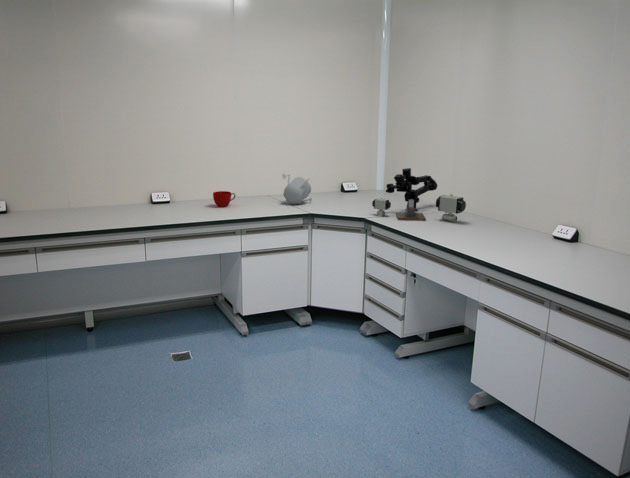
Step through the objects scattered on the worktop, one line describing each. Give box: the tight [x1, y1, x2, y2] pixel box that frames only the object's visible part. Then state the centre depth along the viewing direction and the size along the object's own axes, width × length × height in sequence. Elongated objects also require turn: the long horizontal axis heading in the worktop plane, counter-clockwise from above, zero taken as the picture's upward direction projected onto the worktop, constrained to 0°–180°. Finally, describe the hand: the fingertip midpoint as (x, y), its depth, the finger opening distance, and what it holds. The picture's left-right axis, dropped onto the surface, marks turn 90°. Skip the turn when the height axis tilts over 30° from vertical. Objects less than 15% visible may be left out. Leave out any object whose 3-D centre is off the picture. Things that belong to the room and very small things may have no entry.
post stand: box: [395, 206, 427, 222], centre depth 362 cm, size 18×18×7 cm
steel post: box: [408, 200, 414, 208], centre depth 361 cm, size 3×3×10 cm
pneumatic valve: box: [371, 197, 392, 217], centre depth 367 cm, size 6×12×12 cm, turn 60°
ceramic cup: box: [212, 190, 236, 208], centre depth 393 cm, size 13×17×10 cm
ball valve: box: [435, 193, 467, 223], centre depth 352 cm, size 18×8×18 cm, turn 49°
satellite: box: [282, 173, 313, 205], centre depth 404 cm, size 23×20×25 cm
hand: (391, 191), depth 365 cm, fingers open, 9 cm apart
